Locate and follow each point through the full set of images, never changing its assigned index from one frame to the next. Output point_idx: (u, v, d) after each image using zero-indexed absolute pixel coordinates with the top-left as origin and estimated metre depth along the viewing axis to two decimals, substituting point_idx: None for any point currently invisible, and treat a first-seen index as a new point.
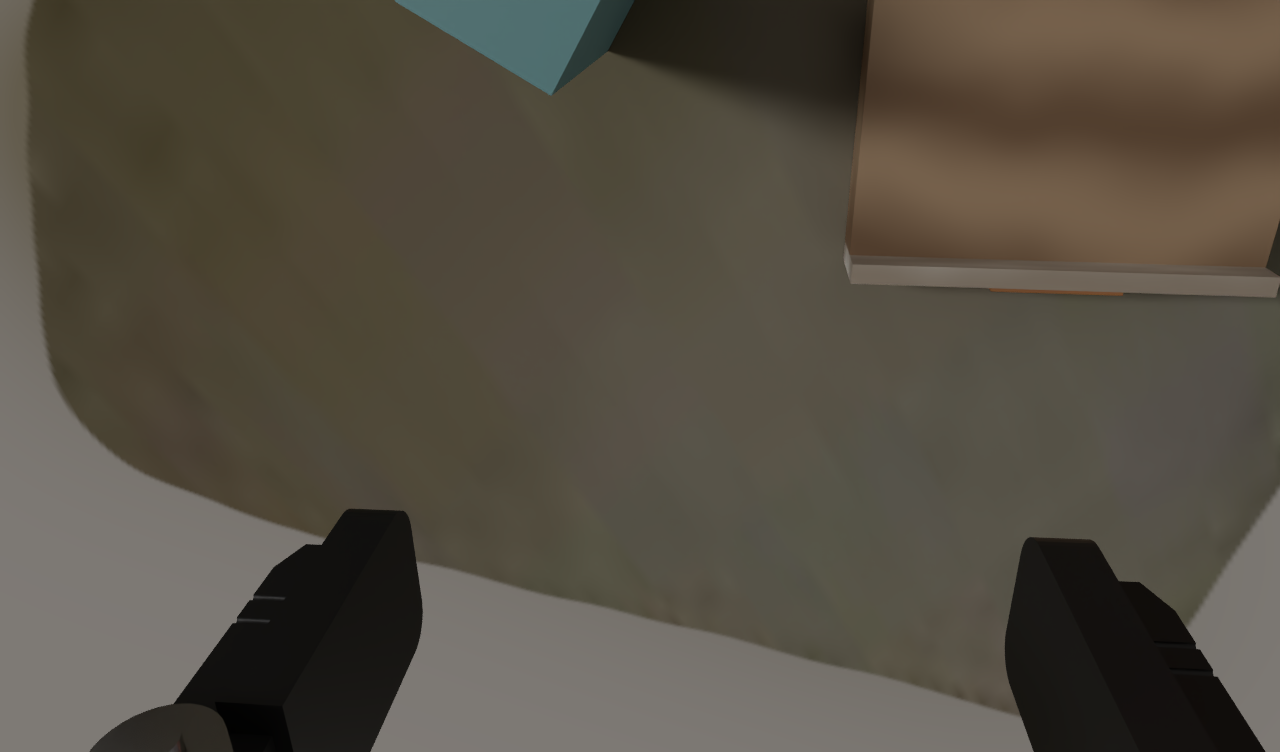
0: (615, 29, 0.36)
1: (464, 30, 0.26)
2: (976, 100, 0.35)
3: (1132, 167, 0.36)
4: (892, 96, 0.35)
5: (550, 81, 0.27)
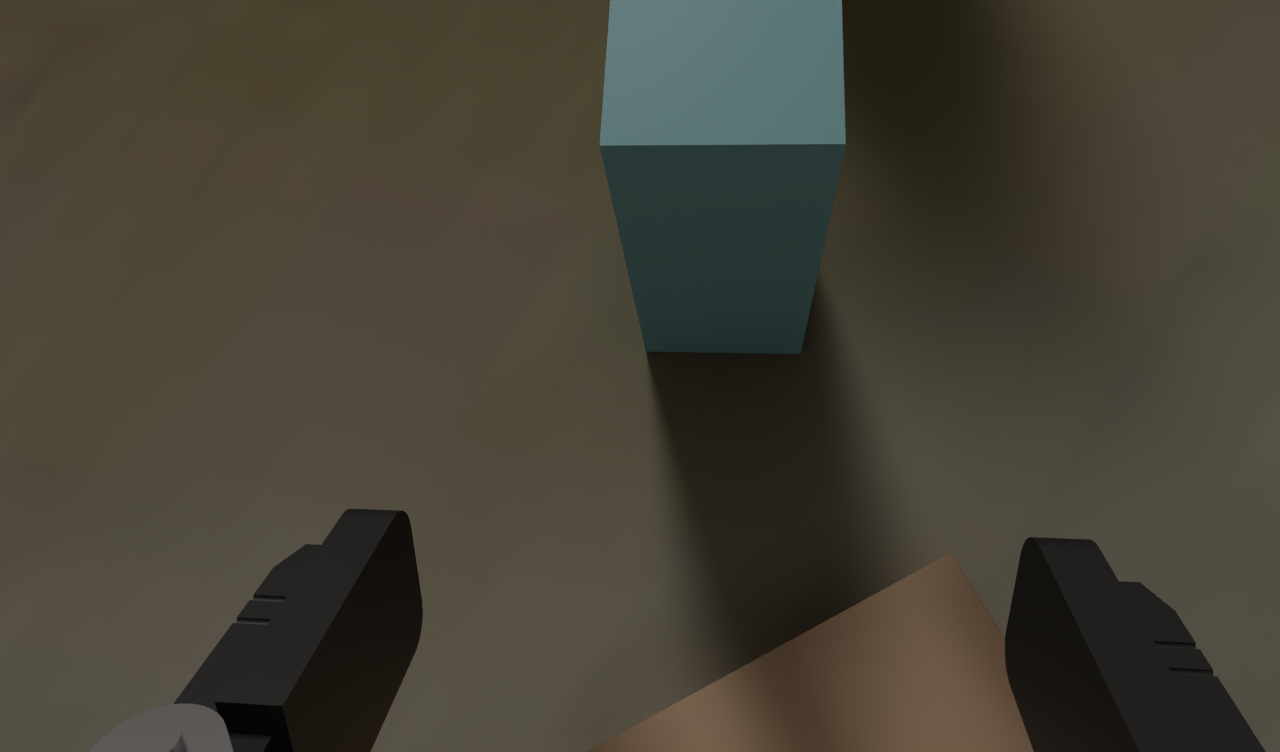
0: (677, 331, 0.29)
1: (622, 27, 0.20)
2: None
3: None
4: (787, 687, 0.25)
5: (616, 137, 0.19)
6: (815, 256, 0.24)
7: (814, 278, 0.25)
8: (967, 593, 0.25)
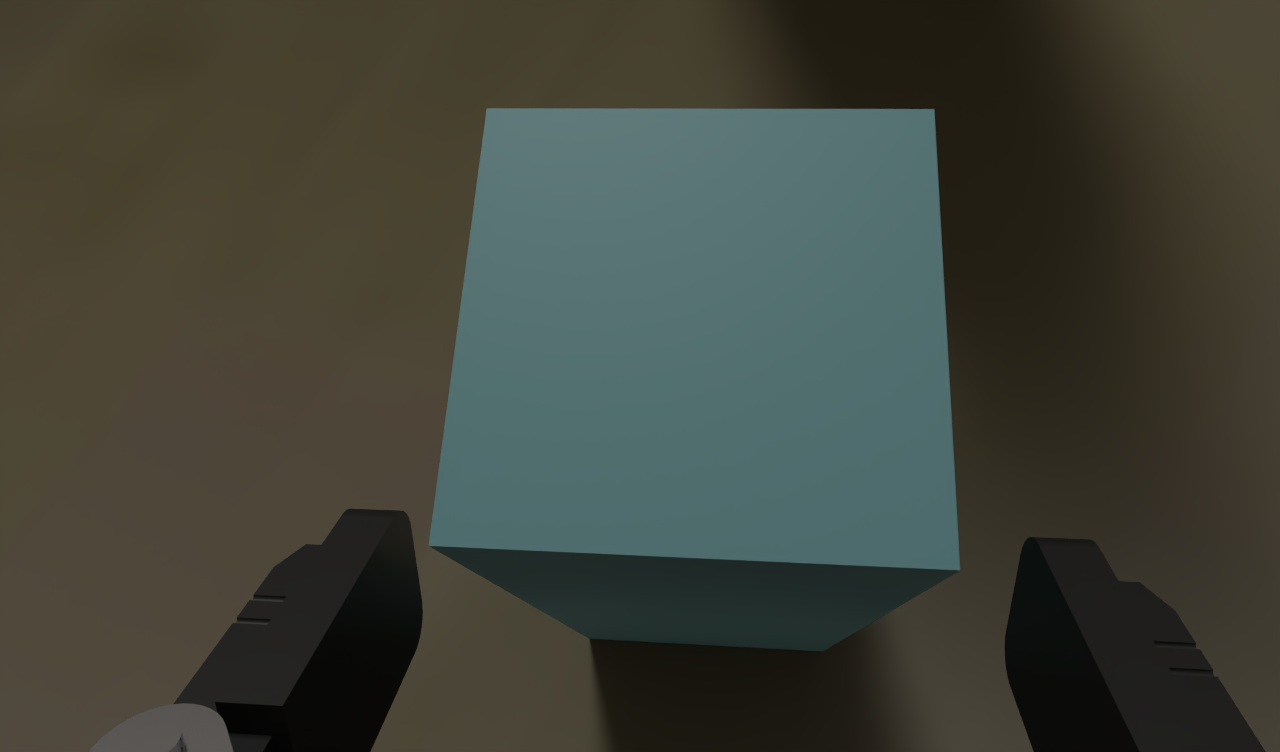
0: (633, 635, 0.19)
1: (493, 270, 0.10)
2: None
3: None
4: None
5: (465, 526, 0.09)
6: (862, 620, 0.13)
7: (857, 628, 0.15)
8: None
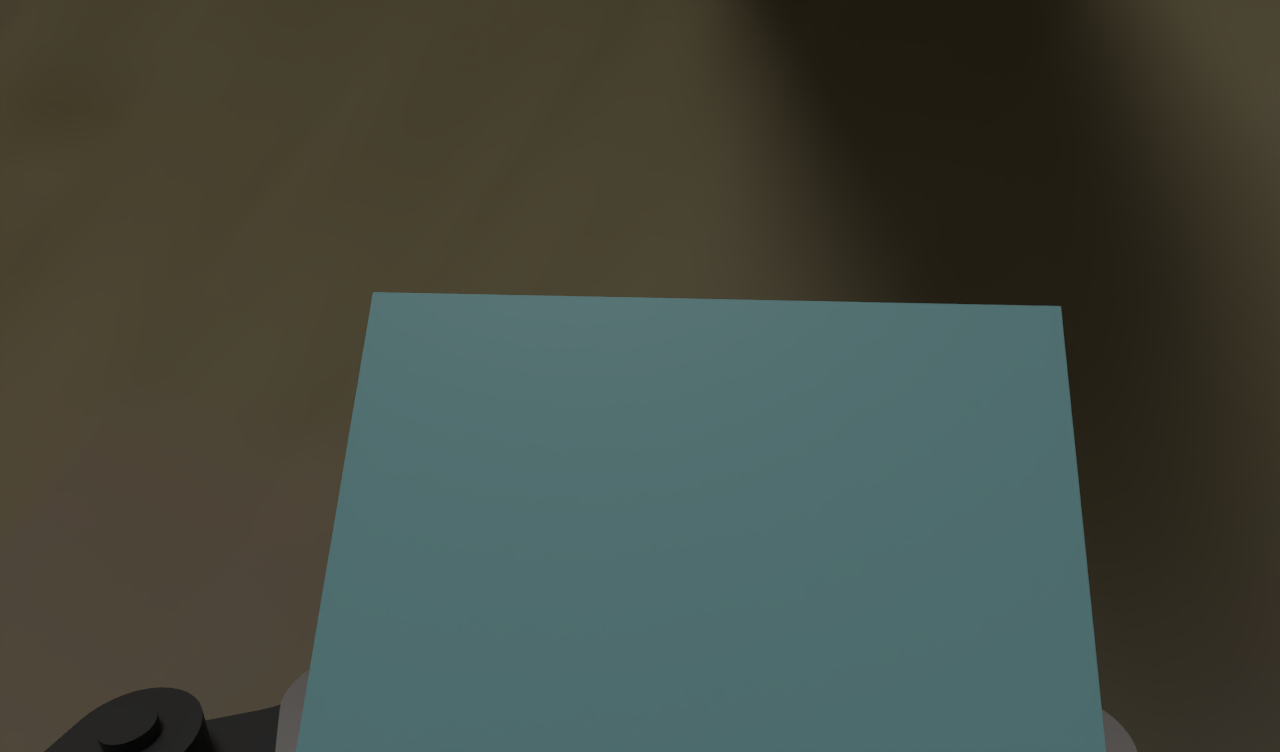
0: None
1: (371, 568, 0.06)
2: None
3: None
4: None
5: None
6: None
7: None
8: None
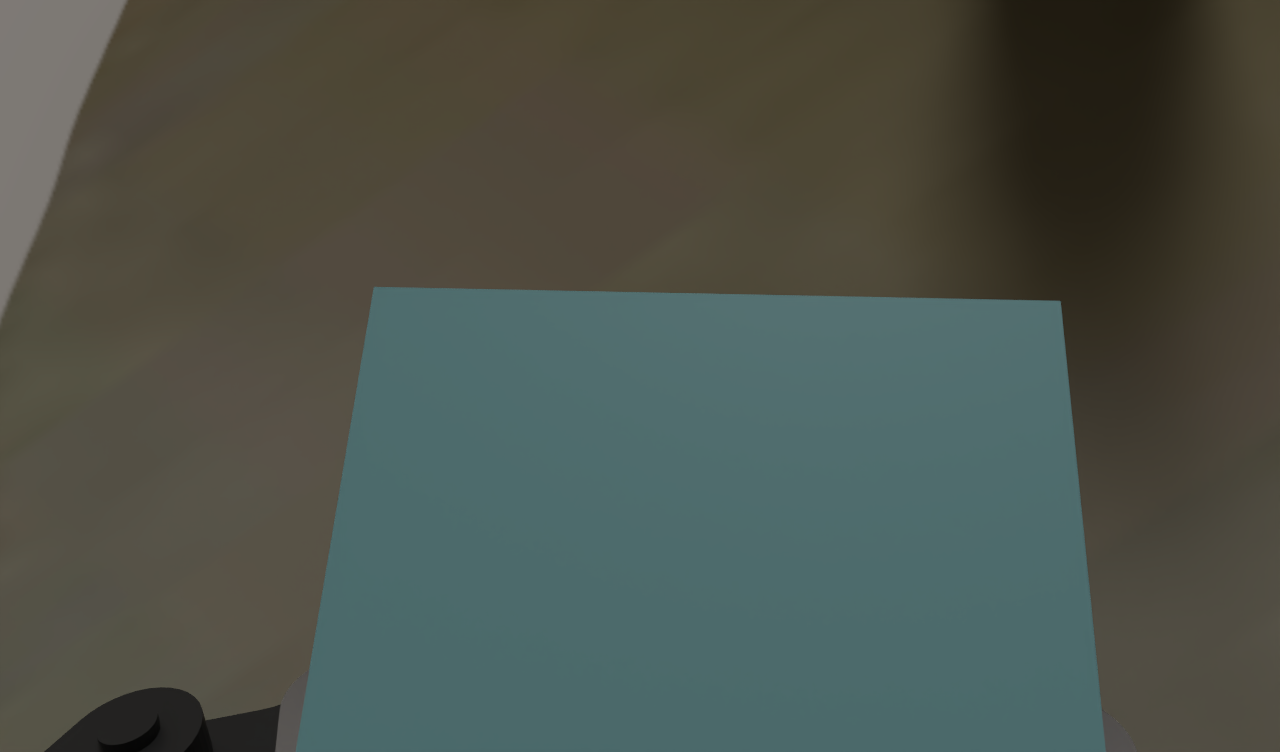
0: None
1: (371, 562, 0.06)
2: None
3: None
4: None
5: None
6: None
7: None
8: None
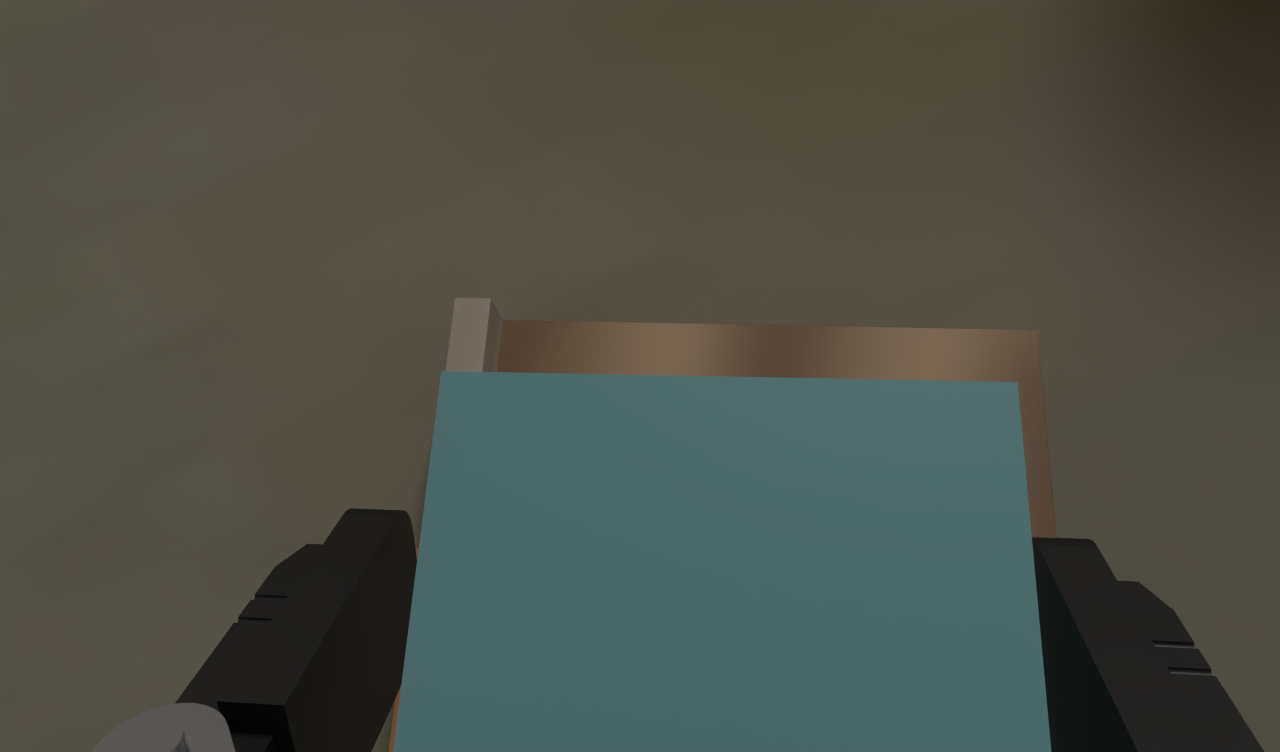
0: None
1: (448, 606, 0.08)
2: None
3: None
4: (774, 367, 0.21)
5: None
6: None
7: None
8: (1031, 378, 0.20)
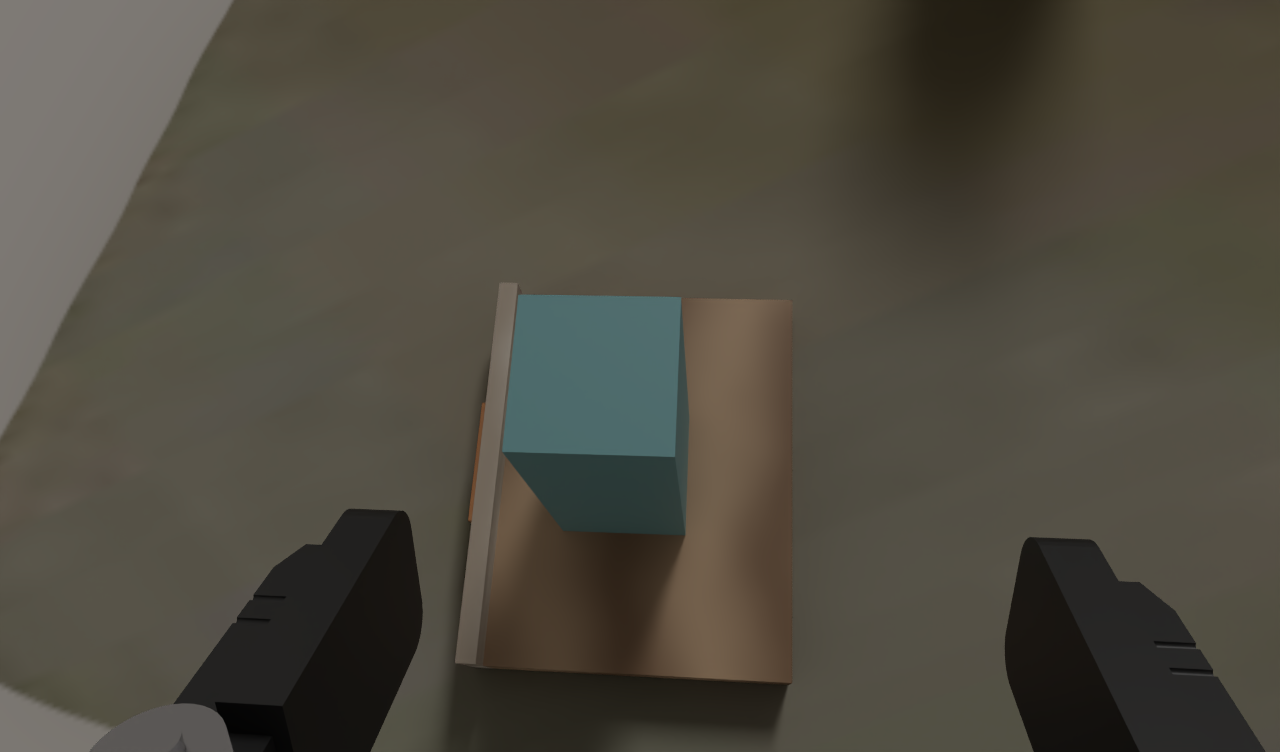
0: (584, 523, 0.37)
1: (522, 356, 0.28)
2: None
3: None
4: None
5: (514, 445, 0.27)
6: (675, 496, 0.31)
7: (679, 504, 0.33)
8: (787, 323, 0.41)
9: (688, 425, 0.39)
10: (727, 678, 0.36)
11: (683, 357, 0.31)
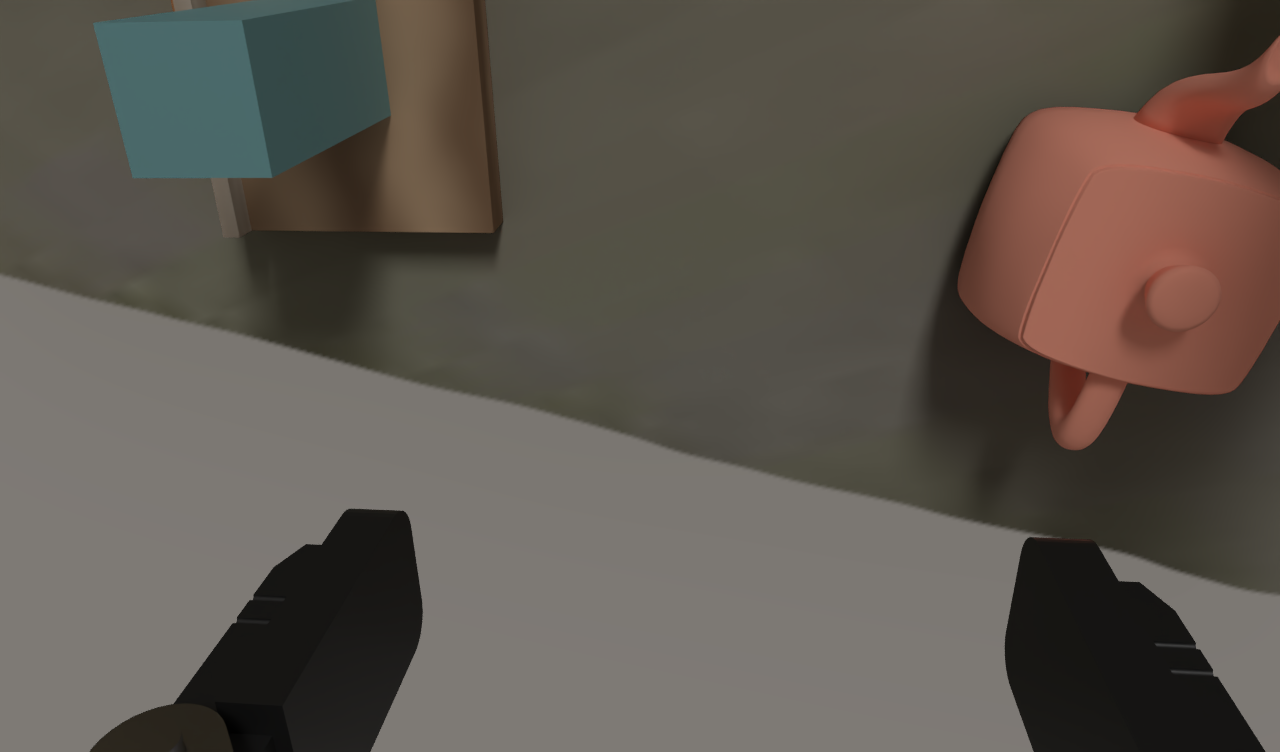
0: None
1: (118, 89, 0.31)
2: None
3: None
4: None
5: (140, 172, 0.32)
6: (326, 147, 0.36)
7: (342, 140, 0.37)
8: None
9: (369, 14, 0.40)
10: (443, 231, 0.45)
11: (292, 30, 0.33)
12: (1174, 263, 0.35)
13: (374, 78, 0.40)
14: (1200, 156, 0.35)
